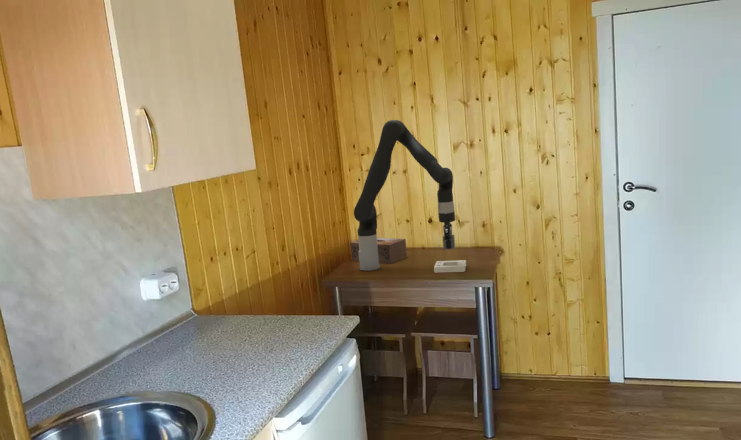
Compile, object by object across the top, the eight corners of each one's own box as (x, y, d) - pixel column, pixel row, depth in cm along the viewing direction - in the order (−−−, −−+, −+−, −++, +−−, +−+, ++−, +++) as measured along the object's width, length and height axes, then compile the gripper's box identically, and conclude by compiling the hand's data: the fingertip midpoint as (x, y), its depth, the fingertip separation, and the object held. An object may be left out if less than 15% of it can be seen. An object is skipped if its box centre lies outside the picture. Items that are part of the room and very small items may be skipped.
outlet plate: (434, 272, 269) (433, 267, 268) (437, 266, 280) (436, 261, 280) (464, 271, 266) (464, 266, 265) (466, 265, 277) (466, 259, 277)
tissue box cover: (406, 257, 306) (405, 239, 304) (391, 264, 295) (389, 244, 293) (368, 254, 322) (366, 236, 320) (351, 260, 310) (350, 242, 309)
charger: (443, 249, 270) (442, 236, 269) (444, 247, 274) (443, 235, 273) (454, 248, 269) (453, 236, 268) (455, 247, 273) (454, 234, 272)
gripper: (439, 209, 276) (442, 244, 279) (436, 214, 263) (439, 251, 265) (455, 208, 275) (458, 243, 277) (453, 213, 261) (456, 250, 264)
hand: (449, 247), depth 271 cm, fingers closed on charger, 4 cm apart
